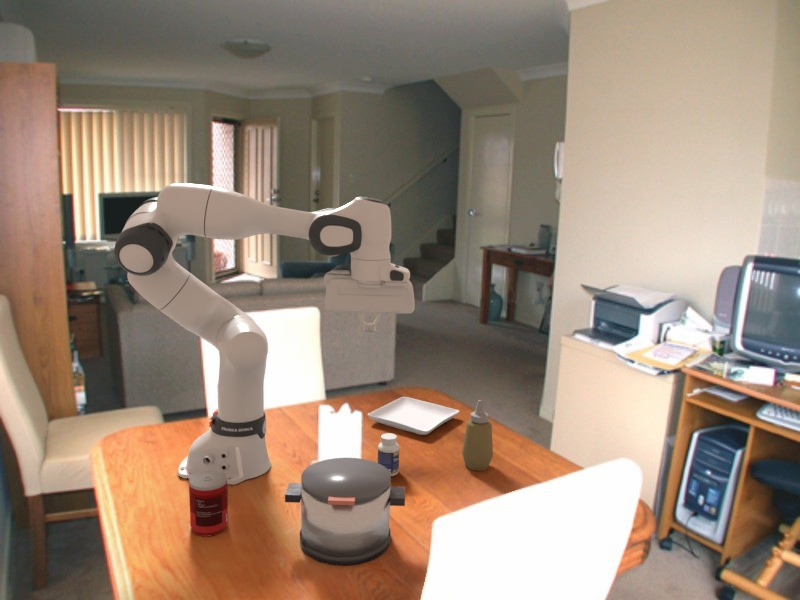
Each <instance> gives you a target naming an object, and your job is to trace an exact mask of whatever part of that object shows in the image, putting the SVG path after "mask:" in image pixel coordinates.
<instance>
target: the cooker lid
mask: <svg viewBox="0 0 800 600" xmlns="http://www.w3.org/2000/svg"><path fill="white" fill-rule="evenodd" d="M391 477H392V476H391V475H390V472H389V471H388V469H387V468H386V467H384V466H383V465H381V464H379V463H378V462H377V461H373V460H369V459H364V458H358V457H337V458H335V457H334V458H328V459H324V460H321V461H317V462H314V463H312V464H311V465H308V466H307V467H306V468H305V469H304V470H303V471H302V473H301V479H300V480H301V485H302V488H303V490H304V491H305V492H306V493H308V494H309V495H311V496H313V497H315V498H318V499H321V500H324V501H328V504H330V505H355V502H361V501H366V500H370V499H373V498H376V497H378V496H380V495H382V494H384V493H385V492H386V491H387V490H388V489H389V487H391V481H392V478H391Z"/></svg>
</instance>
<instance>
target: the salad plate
mask: <svg viewBox="0 0 800 600" xmlns="http://www.w3.org/2000/svg"><path fill="white" fill-rule="evenodd" d="M459 413H460V410H459V409H455V408H452V407H447V406H444V405H442V404H441V405H440V404H437V403H433V402H427V401H424V400H421V399H416V398H412V397H409V396H401V397H398V398H397V399H395V400H392V401H391V402H389V403H387V404H385V405H383V406H381V407H379V408H376V409H375V410H373V411H371V412H368V413H367V416H368V417H369V418H370V419H371V420H372V421H374V422H376V423H379V424H383V425H384V426H388V427H391V428H394V429H399V430H401V431H405V432H408V433H412V434H416V435H421V436H425V435H426V436H427V435H428V434H430V433H432V431H434V430H435V429H437V428H438V427H440V426H441V425H443V424H445V423H446V422H448V421H450V420H452V419H453V418H455V417H456V416H458V414H459Z"/></svg>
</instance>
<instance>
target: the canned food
mask: <svg viewBox="0 0 800 600" xmlns="http://www.w3.org/2000/svg"><path fill="white" fill-rule="evenodd" d="M228 490H229V489H228V484H227V476H226V475H225V474H224V473H222V472H219V471H203V472H199V473H197V474H195V475H193V476H192V477H191V478H190V479H188V492H189V493H188V495H189V516H190V517H189V518H190V519H189V521H190V529H191V530H192V533H194V534H195V533H196V535H197V536H200V535H201V537H211V535H213V536H216V535H219V534H221V533H222V532H223V531H225V530H226V528H228V524H229V506H228V505H229V502H228V500H229V499H228V494H229V493H228ZM220 532H221V533H220ZM218 533H219V534H218ZM209 535H210V536H209Z"/></svg>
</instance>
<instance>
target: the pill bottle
mask: <svg viewBox="0 0 800 600" xmlns="http://www.w3.org/2000/svg"><path fill="white" fill-rule="evenodd" d="M377 463H379V464H381V465H383V466H384V467H386V468H387V469H388V471H389V472H390V475H391V477H393V476H397V475H398V473H399V470H400V469H399V468H400V467H399V466H400V445H399V444H398V436H397V435H396V434H395V433H390V432H388V433H387V432H386V433H382V434H381V436H380V443H379V444H378V446H377Z"/></svg>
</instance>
